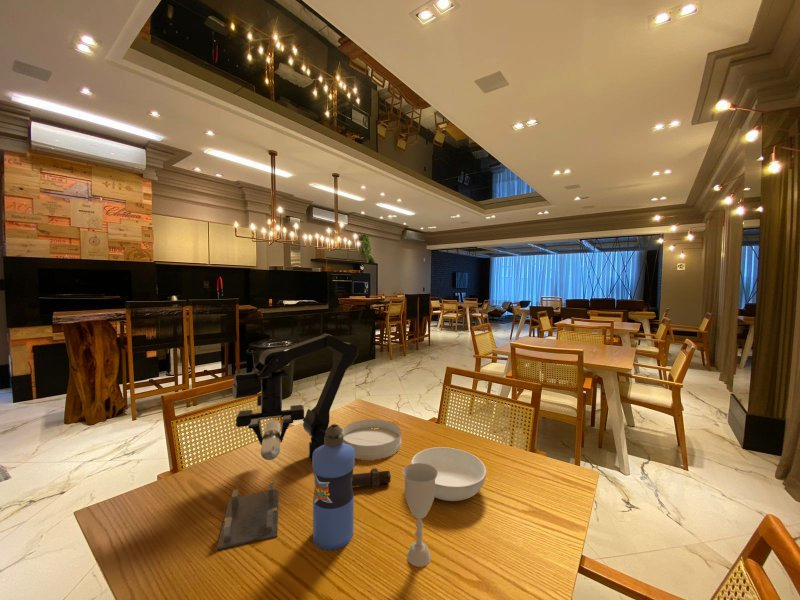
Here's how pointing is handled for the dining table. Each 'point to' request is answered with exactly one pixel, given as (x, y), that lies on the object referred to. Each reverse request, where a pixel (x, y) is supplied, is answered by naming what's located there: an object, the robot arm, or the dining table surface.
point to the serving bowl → (453, 472)
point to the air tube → (271, 440)
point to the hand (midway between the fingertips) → (271, 443)
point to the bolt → (371, 478)
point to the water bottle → (333, 491)
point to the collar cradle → (250, 518)
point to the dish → (372, 438)
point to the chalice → (419, 506)
